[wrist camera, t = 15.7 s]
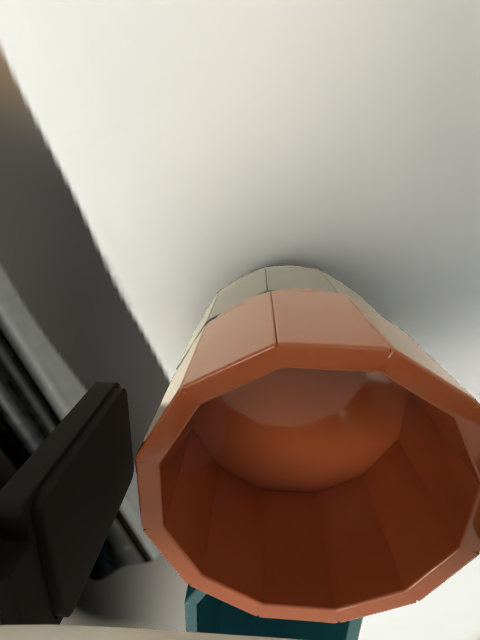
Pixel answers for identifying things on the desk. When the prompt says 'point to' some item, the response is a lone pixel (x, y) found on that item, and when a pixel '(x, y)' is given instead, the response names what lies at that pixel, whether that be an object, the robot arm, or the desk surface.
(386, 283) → the desk surface
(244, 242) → the desk surface
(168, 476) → the middle bowl
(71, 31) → the desk surface
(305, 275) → the bottom bowl
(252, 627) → the top bowl
